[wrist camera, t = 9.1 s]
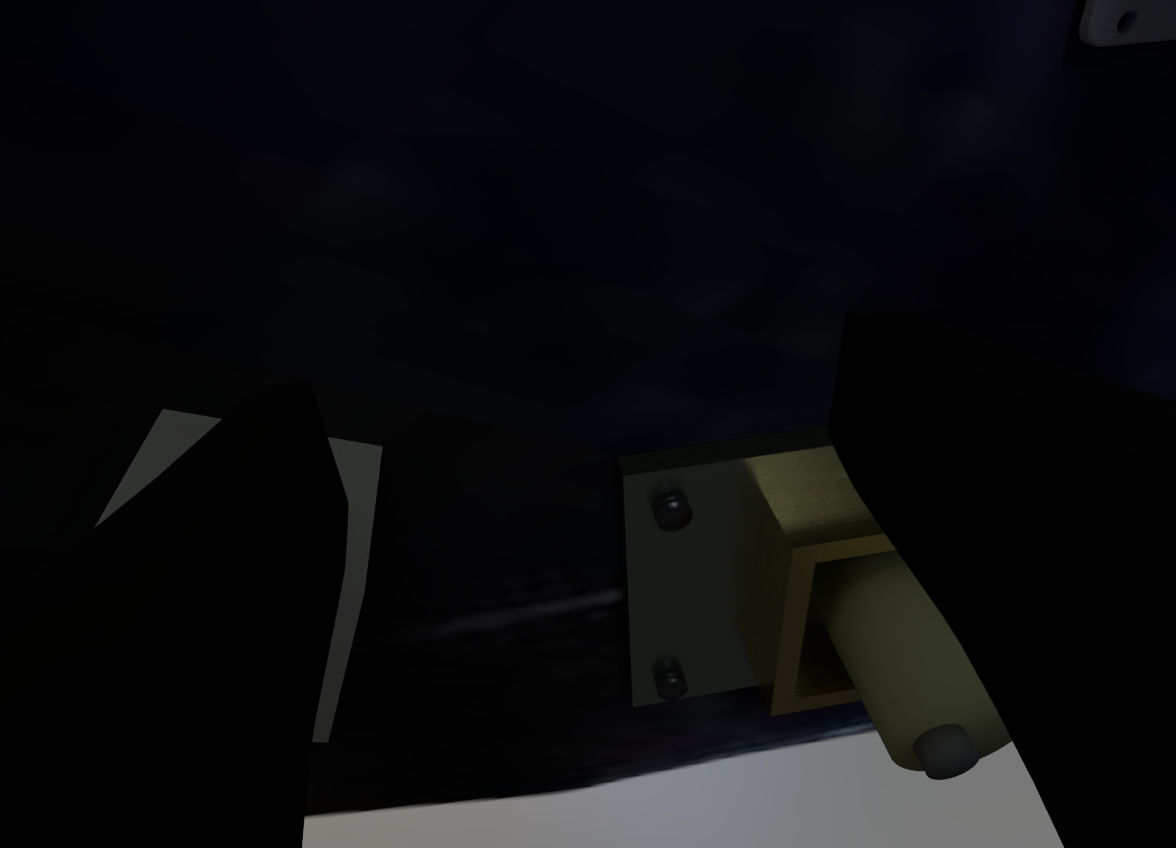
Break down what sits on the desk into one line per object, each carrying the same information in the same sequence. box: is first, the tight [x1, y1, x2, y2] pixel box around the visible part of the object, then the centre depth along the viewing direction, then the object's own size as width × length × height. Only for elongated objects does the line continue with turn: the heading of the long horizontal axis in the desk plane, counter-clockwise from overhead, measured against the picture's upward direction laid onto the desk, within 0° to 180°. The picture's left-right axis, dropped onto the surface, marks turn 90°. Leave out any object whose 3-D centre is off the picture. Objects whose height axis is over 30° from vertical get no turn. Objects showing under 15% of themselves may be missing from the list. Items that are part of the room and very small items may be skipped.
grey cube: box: [95, 409, 382, 742], centre depth 21 cm, size 6×6×6 cm
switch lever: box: [810, 550, 1012, 780], centre depth 24 cm, size 5×5×7 cm
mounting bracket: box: [617, 427, 896, 717], centre depth 27 cm, size 16×12×4 cm
